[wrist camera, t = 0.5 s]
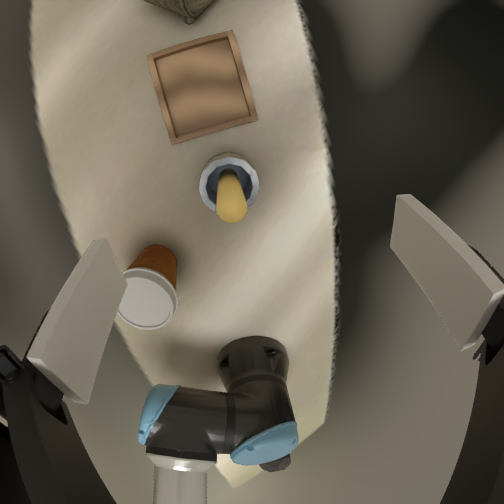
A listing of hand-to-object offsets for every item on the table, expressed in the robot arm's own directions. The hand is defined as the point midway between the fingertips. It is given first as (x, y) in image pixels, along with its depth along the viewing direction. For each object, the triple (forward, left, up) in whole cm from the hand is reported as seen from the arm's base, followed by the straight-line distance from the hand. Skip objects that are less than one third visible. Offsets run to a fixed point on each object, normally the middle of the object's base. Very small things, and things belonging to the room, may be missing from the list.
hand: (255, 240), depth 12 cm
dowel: (-2, +1, -29) cm, 29 cm away
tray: (+12, +1, -30) cm, 32 cm away
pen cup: (-2, +1, -30) cm, 30 cm away
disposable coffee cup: (-12, +16, -30) cm, 36 cm away
